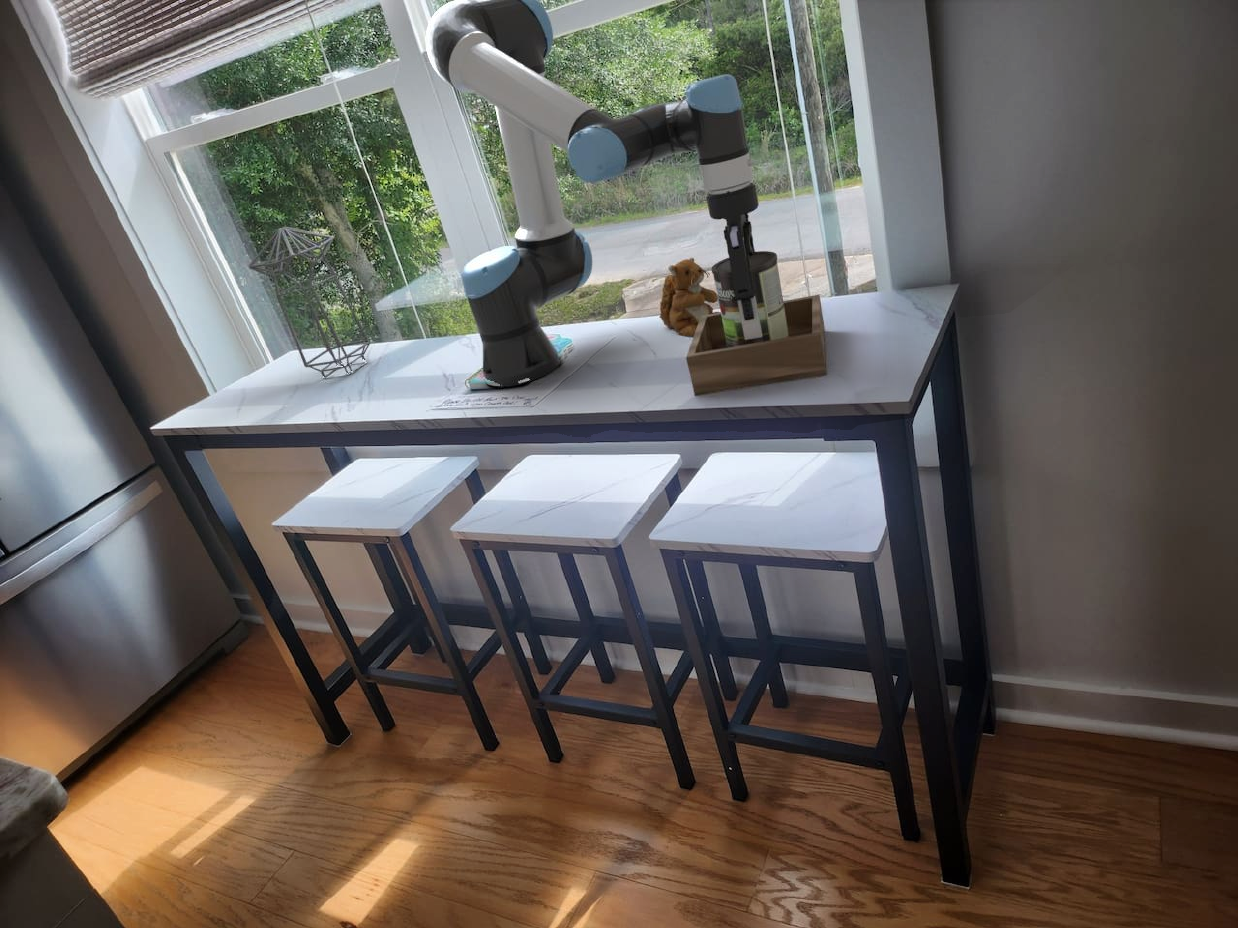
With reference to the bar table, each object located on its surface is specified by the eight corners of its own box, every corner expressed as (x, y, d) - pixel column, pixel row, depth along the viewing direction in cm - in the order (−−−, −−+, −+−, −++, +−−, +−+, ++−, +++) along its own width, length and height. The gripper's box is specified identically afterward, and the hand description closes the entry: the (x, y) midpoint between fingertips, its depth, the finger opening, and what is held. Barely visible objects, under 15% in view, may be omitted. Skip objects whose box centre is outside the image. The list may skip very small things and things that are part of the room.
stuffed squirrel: (694, 338, 161) (679, 270, 156) (648, 331, 172) (633, 268, 167) (732, 319, 166) (718, 252, 160) (685, 314, 177) (671, 251, 171)
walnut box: (708, 350, 152) (701, 316, 150) (825, 330, 147) (819, 294, 144) (694, 395, 135) (686, 357, 132) (826, 375, 129) (820, 334, 126)
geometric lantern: (352, 380, 195) (286, 230, 181) (300, 389, 202) (232, 244, 187) (389, 354, 208) (330, 211, 193) (338, 363, 214) (278, 225, 200)
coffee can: (743, 362, 134) (726, 275, 128) (718, 348, 143) (701, 266, 137) (802, 342, 136) (788, 255, 130) (773, 329, 145) (759, 247, 139)
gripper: (749, 196, 118) (776, 346, 127) (758, 169, 138) (781, 301, 147) (696, 208, 120) (726, 355, 129) (713, 179, 140) (738, 309, 149)
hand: (755, 326), depth 138 cm, fingers closed on coffee can, 10 cm apart
